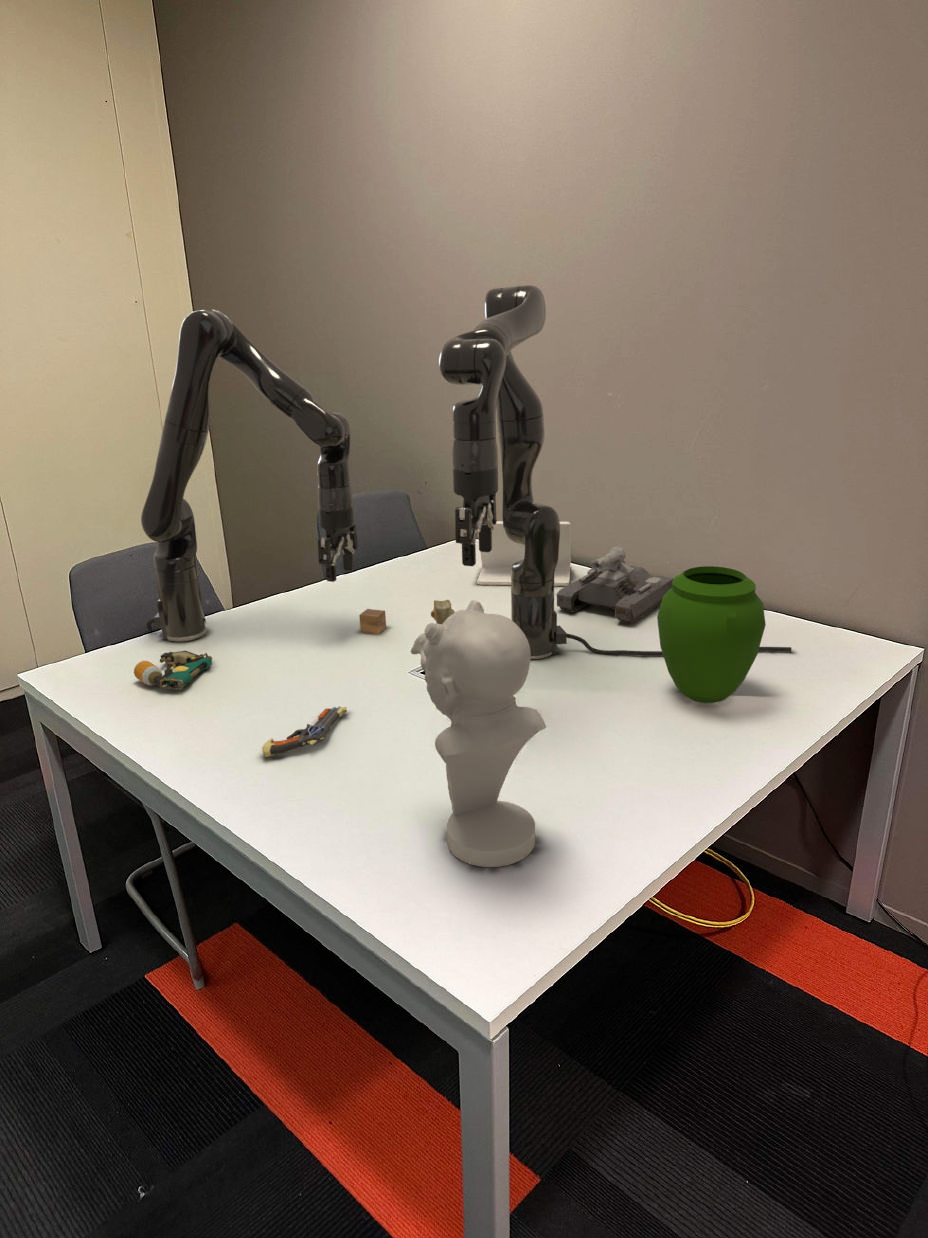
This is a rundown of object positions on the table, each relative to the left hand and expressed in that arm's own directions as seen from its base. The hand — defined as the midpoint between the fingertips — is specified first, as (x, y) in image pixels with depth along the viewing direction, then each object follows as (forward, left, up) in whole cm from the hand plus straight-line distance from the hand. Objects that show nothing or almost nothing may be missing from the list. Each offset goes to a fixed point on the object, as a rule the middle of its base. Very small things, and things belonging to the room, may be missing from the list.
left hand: (340, 575), depth 194 cm
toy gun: (-1, -48, -15) cm, 50 cm away
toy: (+66, +17, -15) cm, 70 cm away
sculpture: (+24, -21, -15) cm, 35 cm away
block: (+6, +4, -15) cm, 17 cm away
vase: (+74, -36, -15) cm, 84 cm away
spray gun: (-33, -20, -15) cm, 42 cm away
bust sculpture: (+29, -79, -15) cm, 85 cm away
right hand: (+31, -43, +16) cm, 55 cm away
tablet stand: (+45, +43, -15) cm, 64 cm away
